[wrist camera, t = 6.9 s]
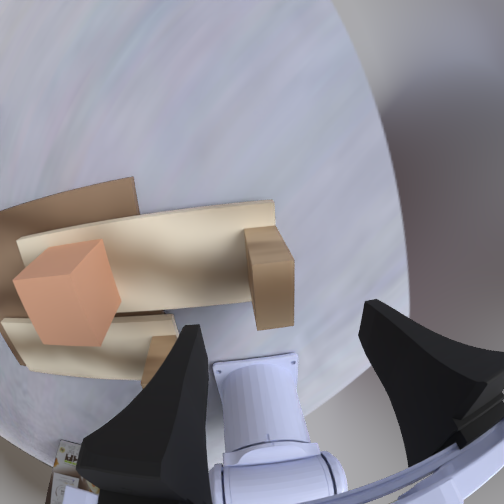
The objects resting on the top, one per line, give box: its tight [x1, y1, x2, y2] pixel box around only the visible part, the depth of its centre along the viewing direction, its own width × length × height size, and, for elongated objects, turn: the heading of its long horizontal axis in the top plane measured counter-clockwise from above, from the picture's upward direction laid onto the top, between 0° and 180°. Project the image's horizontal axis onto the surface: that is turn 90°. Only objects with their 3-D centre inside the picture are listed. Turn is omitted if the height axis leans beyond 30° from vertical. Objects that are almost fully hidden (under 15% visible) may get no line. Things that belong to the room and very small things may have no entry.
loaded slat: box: [16, 200, 294, 331], centre depth 16 cm, size 7×20×6 cm, turn 94°
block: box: [12, 239, 121, 347], centre depth 15 cm, size 5×5×5 cm
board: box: [0, 177, 164, 366], centre depth 20 cm, size 18×22×1 cm
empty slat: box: [1, 314, 179, 389], centre depth 19 cm, size 7×20×6 cm, turn 94°
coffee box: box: [45, 440, 100, 504], centre depth 26 cm, size 9×6×16 cm
